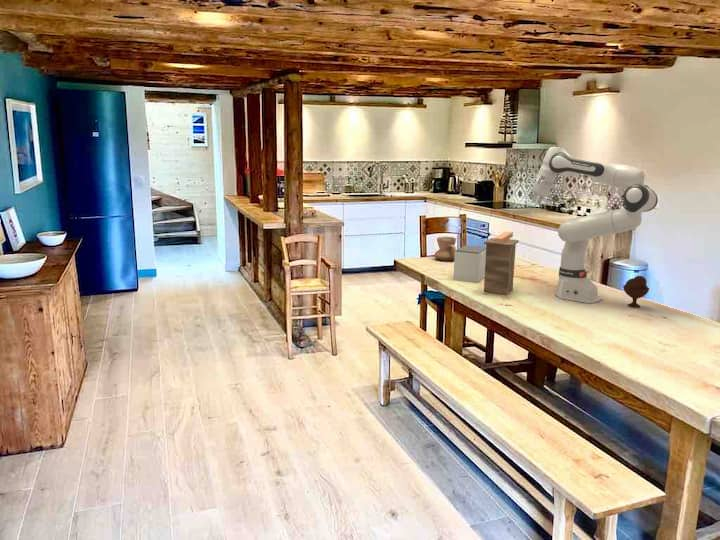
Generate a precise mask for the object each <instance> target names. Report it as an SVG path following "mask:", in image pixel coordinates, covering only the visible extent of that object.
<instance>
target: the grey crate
mask: <svg viewBox="0 0 720 540" xmlns="http://www.w3.org/2000/svg"><path fill="white" fill-rule="evenodd" d="M485 260H486V246H479V245H467V244H465V245H463V246H461V247H459V248H457V249H456V251H455V257H454V260H453V278H452V279H453V280H455V281H463V282H470V283H479V282H481V281H482V280H484V278H485Z"/></svg>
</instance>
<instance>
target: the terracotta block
mask: <svg viewBox="0 0 720 540" xmlns="http://www.w3.org/2000/svg"><path fill="white" fill-rule="evenodd" d="M513 236H514V232H513V231H504V232H502V233H500V234H499V235H497V236H496V237H493V238H494V243H499V244H502V243H504V242H505V241H507V240H511V238H513Z"/></svg>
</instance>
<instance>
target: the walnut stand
mask: <svg viewBox="0 0 720 540" xmlns="http://www.w3.org/2000/svg"><path fill="white" fill-rule="evenodd" d="M494 238H495V237H491V238H489V239H487V240H486V241H484V242H483V245H485V247H486V260H485V278H484V279H483V280H484V281H483V293H488V294H495V295H496V294H497V295H503V296H504V295H505V296H508V295H509V294H510V293H511V292H513V289H514V276H515V275H514V274H515V273H514V272H515V263H516V262H515V261H516V260H515V259H516V258H515V257H516V248H517V244H518V243H519V240H518V239H509V240H507V241H505V242H504V243H502V244H499V243H494Z"/></svg>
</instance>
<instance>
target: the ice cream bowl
mask: <svg viewBox="0 0 720 540" xmlns="http://www.w3.org/2000/svg"><path fill="white" fill-rule="evenodd" d="M622 287H623V290H624V292H625V294H626V295H627V296H628V297H630V298H632V302H630V303H629V304H627V306H628V307H629V308H633V309H640V308H641V305H640V304H638V303H637V301H638V299H641V298H642V297H643V298H644V296H646V295H647V294H648V293H649V291H650V287H648V285H647V279H646V277H644V276H643V275H636V276H634V277H633V278H629V279H628V280H627V281H626V282H625V284H624V285H623V286H622Z"/></svg>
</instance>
